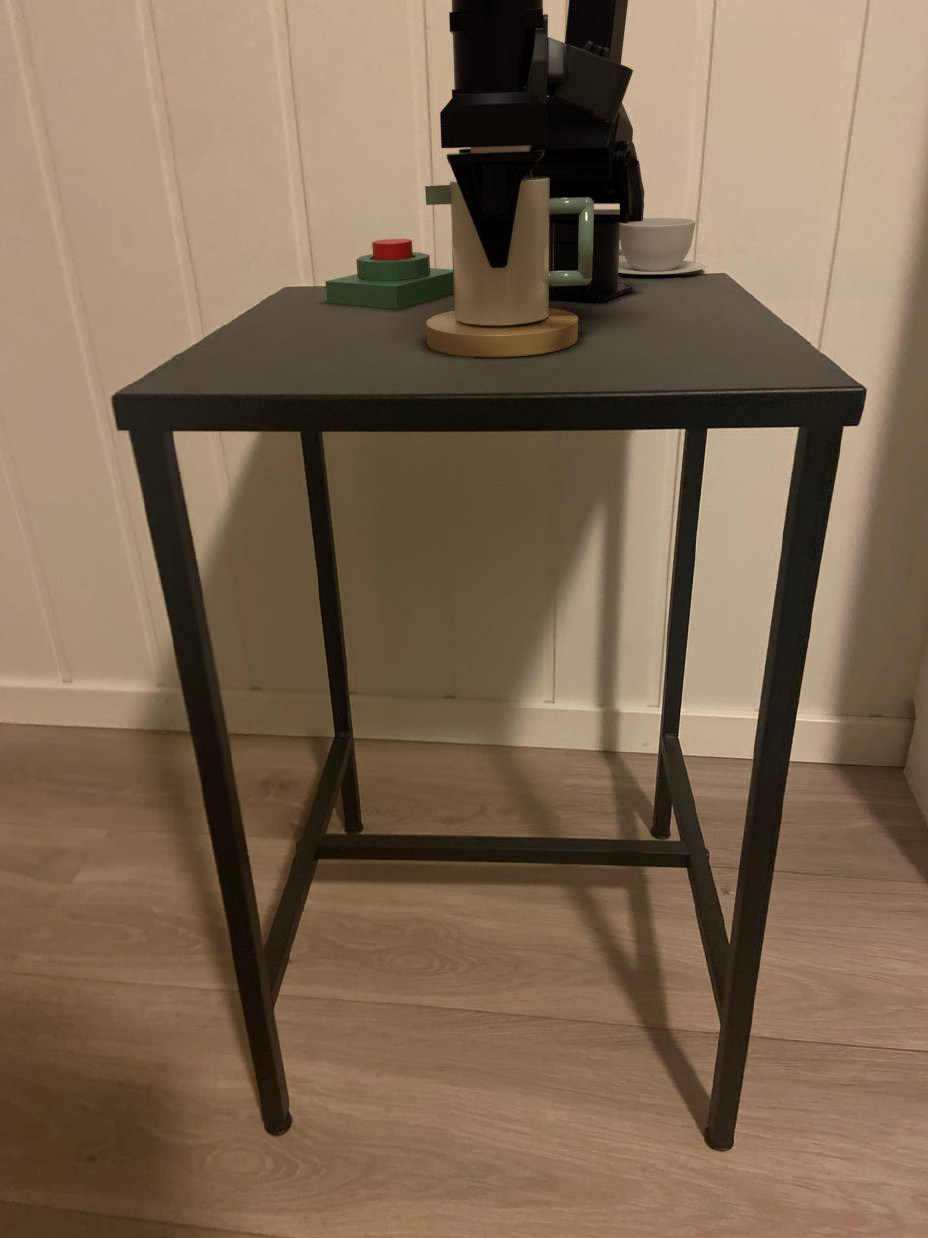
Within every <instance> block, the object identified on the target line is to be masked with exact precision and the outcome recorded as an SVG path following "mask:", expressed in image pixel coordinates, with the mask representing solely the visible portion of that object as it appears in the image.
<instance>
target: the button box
mask: <svg viewBox="0 0 928 1238" xmlns="http://www.w3.org/2000/svg"><path fill="white" fill-rule="evenodd" d="M355 262H356V273H355V274H351V275H346V276H343V277H342V276H341V277H338V278H333V279H330V280H325V291H326V300H327V301H326V303H328V304H339V305H350V306H361V307H371V308H384V309H393V310H398V309H403V308H406V307H410V306H413V305H415V304H416V305H417V304H420V303H423V302H427V301H431V300H433V299H438V298H440V297H445V296H448V295H451V294H454V285H453V268H451V269H449V268H437V267H436V268H435V267H431V260H430V254H428V253H423V252H415V251H414V252H413V258H409V259H400V260H373V253H372V254H371V253H370V254H365V255H361V256H359V257H358V258H356V260H355Z"/></svg>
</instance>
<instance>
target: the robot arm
mask: <svg viewBox="0 0 928 1238" xmlns="http://www.w3.org/2000/svg"><path fill="white" fill-rule="evenodd" d="M567 5H568V7H567V15H566V25H565V35H564V42H563V41H561V40H557V39H556V38H555V39H554V38H553V37H549V14H548V13H545V14H544V0H451V11H449V12H448V19H449V21H448V22H449V32H450V33H451V35H452V53H453V54H452V55H453V59H452V60H453V83H454V84H453V86H454V87H453V88H454V89H452V88H451V98H450V100H449V101H448V102H447V103H446V104H445V106H444V107H443V108H442V110H441V111H440V112H439V119H440V120H439V122H440V123H439V124H440V145H441V146H440V148H441V149H458V152H450V153H447V154H446V160H447V162H448V165H449V166H450V168H451V171H452V173H453V176H454V178H455V179H456V181H457V183H458V186H459V188H460V191H461V193H462V196H463V198H464V201H465V203H466V206H467V208H468V211H469V213H470V216H471V218H472V221H473V223H474V226H475V228H476V231H477V233H478V236H479V239H480V241H481V244H482V246H483V249H484V251H485V254H486V256H487V259H488V262H489V264H490V266H491V267H492V268H504V267H506V266H507V263H508V257H509V251H510V245H511V239H512V232H513V226H514V220H515V214H516V208H517V202H518V196H519V190H520V184H521V181H522V179H523V178H524V177H525V176H526V175H527V176H546V177H549V178H550V198H575V197H589V198H591V199H592V200H593V202H594V205H619V209H618V208H616V209H615V208H614V209H613V208H610V209H608V208H606V209H605V208H603V209H601V208H600V209H599V208H594V225H593V261H592V280H591V282H590V283H589V284H588V285H578V286H550V287H549V299H557V300H569V301H581V302H582V301H583V302H598V303H599V302H600V303H601V302H602V303H603V302H606V301H609V300H611V299H614V298H617V297H620V296H622V295H625V294H628V293H630V292H633V290H634V289H633V286H634V285H632V284H622V283H621V284H619V273H618V270H619V262H620V255H619V249H620V247H621V243H620V222H621V223H625V224H627V223H630V222H639V221H643V218H644V211H645V210H644V209H645V188H644V183H643V179H642V172H641V164H640V161H639V159H638V155H637V151H636V146H635V143H634V142H633V138H634V137H633V136H634V128H633V125H632V123H631V120H630V118H629V116H628V114H627V111H626V109H625V106H624V104H623V101H624V99H625V95H626V94H627V89H628V87H629V84H630V81H631V78H632V76H633V73H634V69H632V68H631V67H629V66H626V65H625V64H624V65H623V64H622V58H623V49H624V42H625V41H624V40H625V31H626V25H627V15H628V14H627V13H628V6H629V0H568V4H567ZM530 145H531V146H530ZM550 222H554V230H553V271H575V270H578V242H579V213H575V214H550Z"/></svg>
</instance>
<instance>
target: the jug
mask: <svg viewBox="0 0 928 1238" xmlns="http://www.w3.org/2000/svg"><path fill="white" fill-rule="evenodd" d="M424 190H425V192H424V193H425V205H426V206H434V205H435V206H436V205H450V228H451V229H450V231H451V232H450V233H451V256H452V269H453V285H454V293H453V304H454V305H453V306H454V310H453V311H455V319H456V320H457V321H460V322H463V323H467V324H474V325H488V326H502V325H518V324H526V323H532V322H536V321H540V320H543V319H545V318H547V317H548V316H549V308H550V298H549V288H550V287H553V286H578V285H588V284H589V283H590V282H591V280H592V261H593V225H594V209H595V204H594V202H593V200H592V199H591V198H589V197H575V198H550V178H549V177H546V176H525V177H524V178H523V179H522V181H521V184H520V190H519V196H518V202H517V208H516V214H515V220H514V226H513V232H512V239H511V245H510V251H509V257H508V263H507V266H506V267H504V268H492V267H491V266H490V264H489V262H488V259H487V256H486V254H485V251H484V249H483V246H482V244H481V241H480V239H479V236H478V233H477V231H476V228H475V226H474V223H473V221H472V218H471V216H470V213H469V211H468V208H467V206H466V203H465V201H464V198H463V196H462V193H461V191H460V188H459V186H458V183H457V181H456V178H455V179H452V180H450V181H449V182H447V183H446V182H443V183H427V184H426V185H425V186H424ZM575 213H579V242H578V270H575V271H549V249H550V214H575Z"/></svg>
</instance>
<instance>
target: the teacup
mask: <svg viewBox="0 0 928 1238" xmlns="http://www.w3.org/2000/svg"><path fill="white" fill-rule="evenodd" d="M695 227H696V220H694V219H692V218H684V217H643V221H639V222H630V223H627V224H625V223H621V222H620V248H621V249H620V248H619V257H620V256H621V257H624V258H625V261H619V270H618V274H619V273H620V274H625V275H626V274H627V275H640V276H641V275H642V276H643V275H645V276H646V275H647V276H652V275H653V276H656V275H658V276H661V275H676V274H677V275H678V274H686V273H691V272H692V273H693V272H696V271H697V272H698V271H700V270H702V269H705V268H706V265H705V264H704V263H701V262H697V261H691V260H685V259H686V257H687V255H688V253H689V252H690V250H691V247H692V243H693V238H694V232H695V229H696V228H695Z"/></svg>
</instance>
